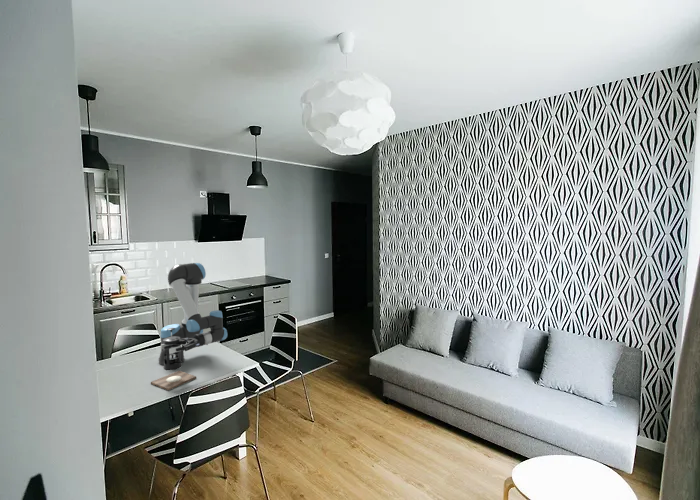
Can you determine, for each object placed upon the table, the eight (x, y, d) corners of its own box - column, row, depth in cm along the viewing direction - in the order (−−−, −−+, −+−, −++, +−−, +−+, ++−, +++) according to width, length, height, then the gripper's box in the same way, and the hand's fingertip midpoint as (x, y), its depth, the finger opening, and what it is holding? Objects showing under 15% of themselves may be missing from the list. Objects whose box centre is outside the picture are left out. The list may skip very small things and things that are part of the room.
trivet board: (150, 383, 207) (150, 381, 207) (179, 372, 222) (179, 370, 222) (168, 390, 199) (167, 388, 199) (196, 378, 214) (196, 376, 214)
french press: (159, 370, 206) (157, 330, 204) (168, 363, 215) (167, 325, 213) (178, 370, 204) (177, 331, 203) (187, 364, 214) (186, 326, 212)
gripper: (212, 349, 216) (174, 360, 198) (193, 341, 230) (157, 350, 213) (211, 337, 215) (174, 347, 198) (193, 329, 229) (156, 338, 212)
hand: (165, 349), depth 205 cm, fingers closed on french press, 10 cm apart
